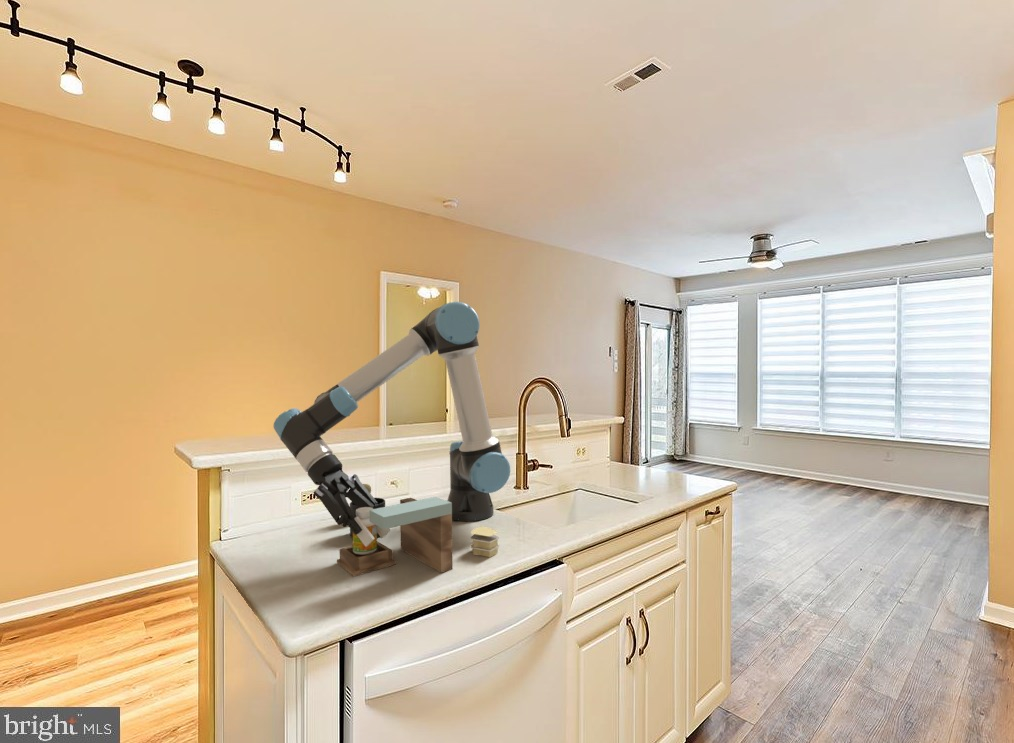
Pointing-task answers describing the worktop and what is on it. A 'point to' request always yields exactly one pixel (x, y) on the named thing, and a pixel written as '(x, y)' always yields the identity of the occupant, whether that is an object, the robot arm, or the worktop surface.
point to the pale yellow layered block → (484, 541)
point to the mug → (353, 507)
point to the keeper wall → (429, 540)
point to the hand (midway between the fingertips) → (378, 538)
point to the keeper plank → (410, 512)
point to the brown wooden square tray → (365, 560)
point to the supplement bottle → (365, 518)
